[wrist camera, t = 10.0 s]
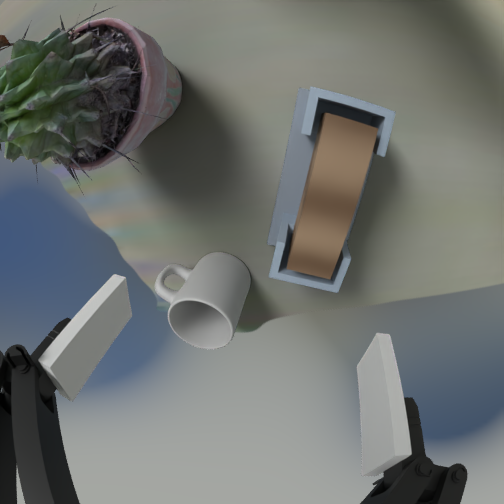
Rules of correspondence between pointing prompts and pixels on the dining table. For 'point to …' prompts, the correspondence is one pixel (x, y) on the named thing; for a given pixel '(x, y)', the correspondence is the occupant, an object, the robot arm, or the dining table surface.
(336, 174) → the tapered block
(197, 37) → the dining table surface
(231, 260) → the mug
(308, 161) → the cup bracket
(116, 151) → the potted plant
